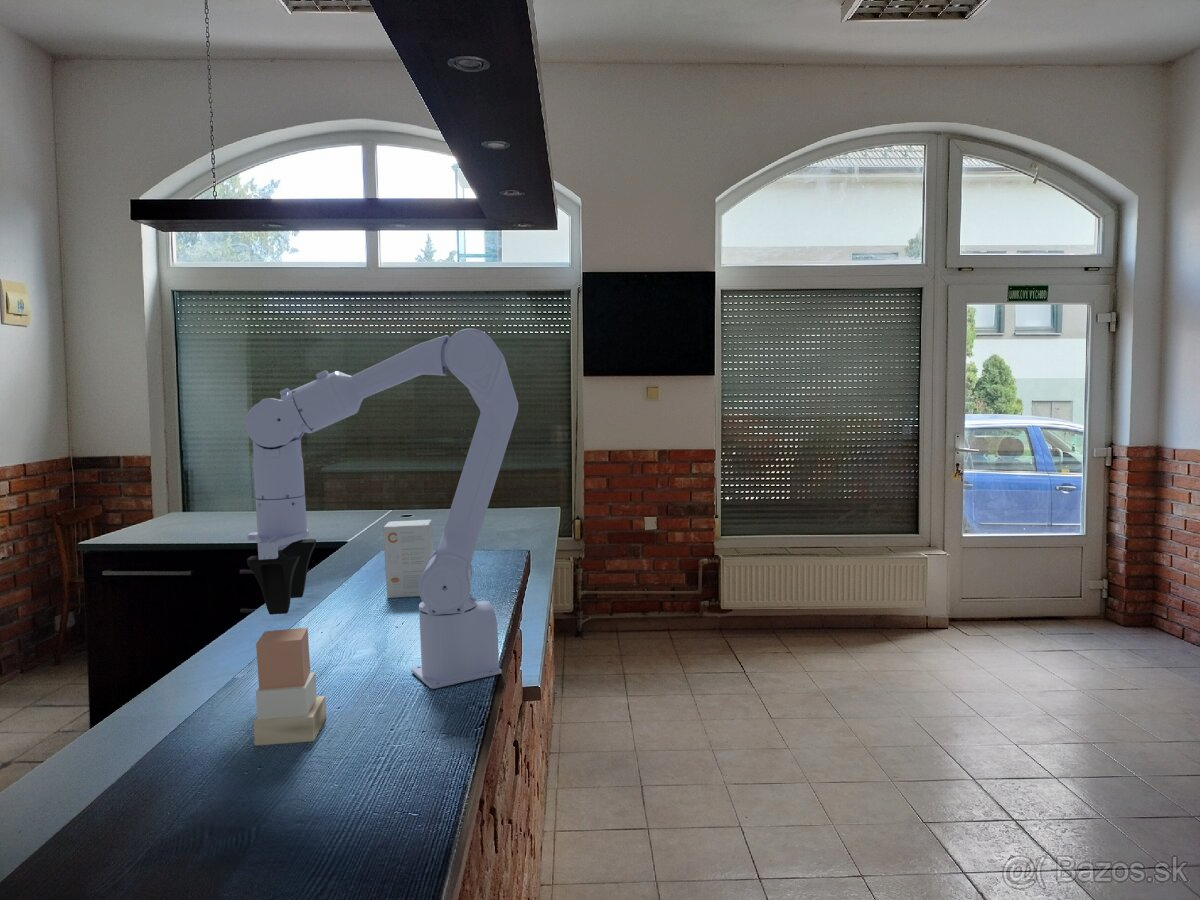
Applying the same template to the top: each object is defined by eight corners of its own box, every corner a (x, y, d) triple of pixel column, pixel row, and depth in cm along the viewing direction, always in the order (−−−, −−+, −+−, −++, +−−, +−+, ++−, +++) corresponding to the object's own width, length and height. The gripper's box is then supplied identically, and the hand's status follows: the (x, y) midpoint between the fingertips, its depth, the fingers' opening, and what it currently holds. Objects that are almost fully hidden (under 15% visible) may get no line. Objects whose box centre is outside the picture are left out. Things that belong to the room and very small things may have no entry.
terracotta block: (267, 675, 90) (264, 631, 89) (310, 671, 90) (307, 627, 90) (259, 690, 85) (256, 643, 85) (304, 685, 86) (301, 639, 86)
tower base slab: (271, 725, 91) (269, 699, 90) (326, 721, 91) (325, 695, 91) (254, 748, 85) (253, 721, 85) (314, 744, 85) (312, 717, 85)
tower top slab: (269, 701, 90) (268, 675, 90) (316, 698, 90) (315, 672, 90) (257, 719, 85) (255, 691, 85) (307, 715, 86) (305, 688, 85)
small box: (436, 587, 151) (432, 518, 150) (432, 596, 145) (429, 524, 144) (391, 590, 150) (388, 520, 149) (386, 598, 144) (382, 526, 143)
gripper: (262, 491, 106) (269, 592, 107) (227, 506, 92) (234, 623, 93) (318, 488, 107) (324, 589, 108) (291, 503, 93) (298, 619, 94)
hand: (286, 605), depth 101 cm, fingers open, 7 cm apart
